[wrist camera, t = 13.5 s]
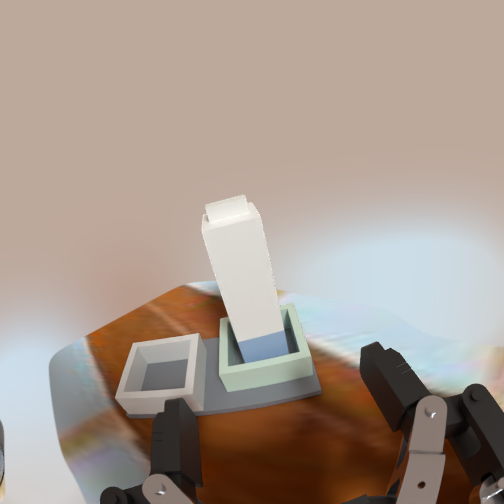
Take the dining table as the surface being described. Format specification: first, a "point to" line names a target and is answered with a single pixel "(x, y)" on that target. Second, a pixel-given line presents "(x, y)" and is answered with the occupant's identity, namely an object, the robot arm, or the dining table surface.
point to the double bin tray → (216, 373)
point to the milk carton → (245, 277)
